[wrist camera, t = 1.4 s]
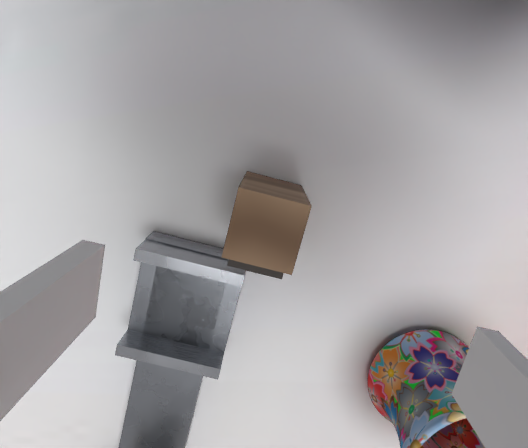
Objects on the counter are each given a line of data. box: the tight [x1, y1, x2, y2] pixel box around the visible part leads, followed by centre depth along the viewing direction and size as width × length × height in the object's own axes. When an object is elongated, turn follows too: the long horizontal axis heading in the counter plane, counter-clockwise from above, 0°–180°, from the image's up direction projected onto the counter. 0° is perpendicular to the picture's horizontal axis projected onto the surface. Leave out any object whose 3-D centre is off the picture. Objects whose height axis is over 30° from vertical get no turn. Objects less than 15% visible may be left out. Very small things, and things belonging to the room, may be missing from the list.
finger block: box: [222, 171, 311, 279], centre depth 27 cm, size 5×4×8 cm
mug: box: [368, 330, 485, 448], centre depth 29 cm, size 12×9×11 cm
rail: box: [115, 231, 246, 448], centre depth 29 cm, size 26×7×10 cm, turn 166°
